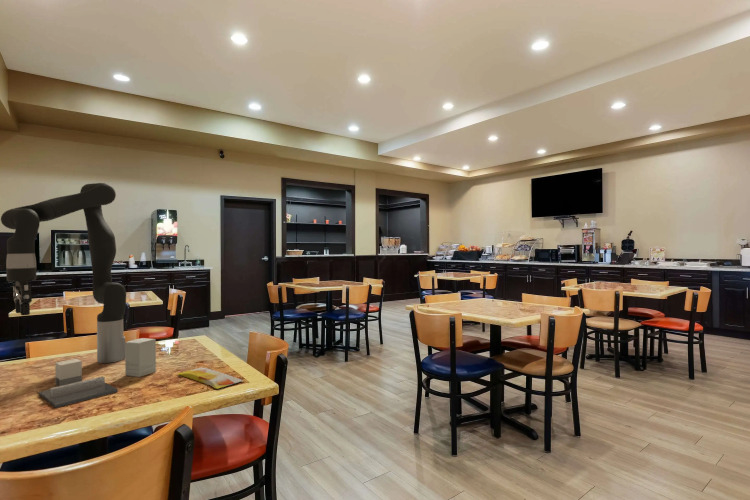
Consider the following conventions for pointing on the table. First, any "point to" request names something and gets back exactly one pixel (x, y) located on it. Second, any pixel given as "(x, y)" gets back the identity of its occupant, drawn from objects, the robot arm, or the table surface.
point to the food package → (210, 377)
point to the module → (68, 372)
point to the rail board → (77, 392)
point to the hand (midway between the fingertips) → (22, 313)
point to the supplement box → (140, 357)
